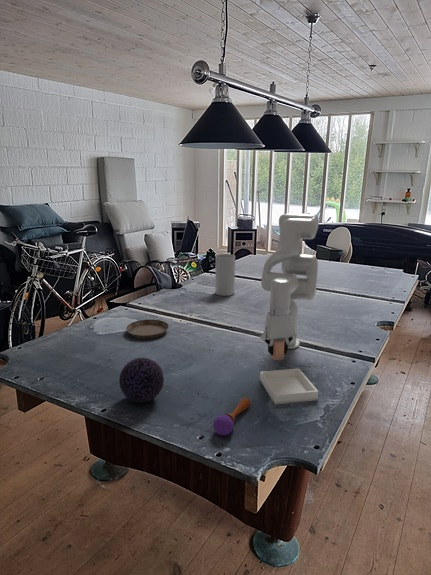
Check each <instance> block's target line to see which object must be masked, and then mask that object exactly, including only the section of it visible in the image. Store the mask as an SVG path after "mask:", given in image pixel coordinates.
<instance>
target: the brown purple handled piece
mask: <svg viewBox="0 0 431 575" xmlns="http://www.w3.org/2000/svg"><path fill="white" fill-rule="evenodd" d="M250 406H251V401H250V399H249V398H248V397H243V398H241V400H240V402H239V403H238V405H237V406H236V407H235V409H234V410H233V412H232V413H225V414H221V415H218V416H217V417H215V419H214V421H213V429H214V432H216V434H217V435H219V436H222V437H223V436H228V435H230V434H231V433H232V431H233V429H234V424H235V417H236V416H237V415H239V414H240V413H242V412H243V411H245V410H247V408H249V407H250Z"/></svg>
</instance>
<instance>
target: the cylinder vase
mask: <svg viewBox="0 0 431 575" xmlns="http://www.w3.org/2000/svg"><path fill="white" fill-rule="evenodd" d="M235 280H236V255H234V254H230V253H221V254H216V255H215V287H214V288H215V292H214V293H215V294H216V295H217V296H223V297H226V296H227V297H228V296H229V297H230V296H233V295H234V294H235V291H236V290H235V288H236V286H235V284H236V282H235Z"/></svg>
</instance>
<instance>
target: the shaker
mask: <svg viewBox="0 0 431 575" xmlns="http://www.w3.org/2000/svg"><path fill="white" fill-rule="evenodd" d="M272 345H273V355H271V354H270V356H271V357H270V358H271V359H272V360H275V361H282V360H284V358H285V354H284V346H285V338H280V339H274V341H273V344H272Z"/></svg>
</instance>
